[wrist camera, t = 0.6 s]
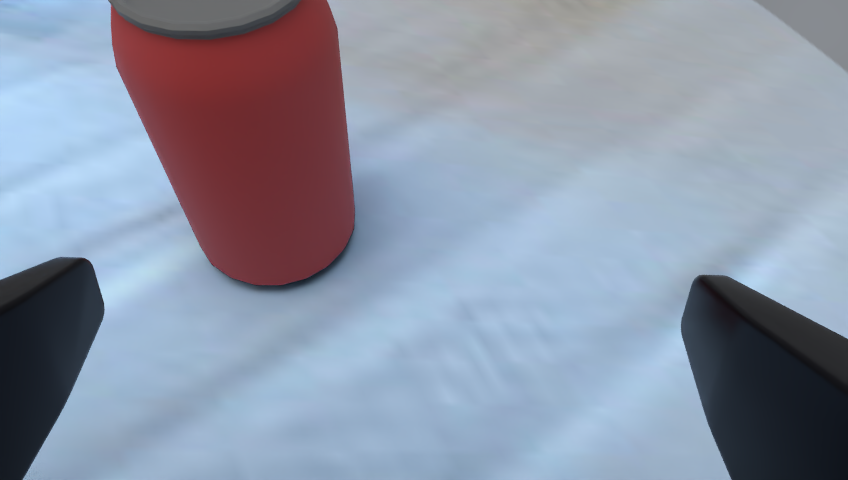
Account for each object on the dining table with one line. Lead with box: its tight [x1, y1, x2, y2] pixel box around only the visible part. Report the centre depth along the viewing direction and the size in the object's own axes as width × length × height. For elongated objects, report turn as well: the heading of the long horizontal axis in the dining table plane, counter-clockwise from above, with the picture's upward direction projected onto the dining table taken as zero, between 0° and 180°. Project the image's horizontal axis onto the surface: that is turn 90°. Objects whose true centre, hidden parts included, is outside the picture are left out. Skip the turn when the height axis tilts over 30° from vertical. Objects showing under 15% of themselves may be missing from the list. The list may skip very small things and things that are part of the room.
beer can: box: [108, 0, 355, 285], centre depth 21 cm, size 7×7×12 cm
